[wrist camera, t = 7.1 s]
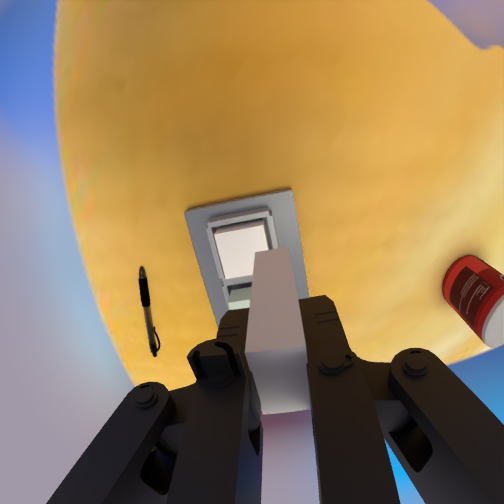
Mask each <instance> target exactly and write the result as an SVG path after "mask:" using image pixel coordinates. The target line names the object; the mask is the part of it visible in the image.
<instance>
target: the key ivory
mask: <svg viewBox="0 0 504 504" xmlns="http://www.w3.org/2000/svg"><path fill="white" fill-rule="evenodd" d="M214 237H215V241H216V244H217V248H218V252H219V256H220V260H221V264H222V267H223V271H224V275H225V279H230V278H236V277H242V276H248V275H253V268H254V258H255V252H259V251H265V250H270V249H269V244H268V239H267V234H266V229H265V224H264V219H257V220H252V221H247V222H242V223H237V224H232V225H226V226H221V227H218V228H217V230H216V232H215V234H214Z"/></svg>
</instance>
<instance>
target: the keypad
mask: <svg viewBox="0 0 504 504" xmlns="http://www.w3.org/2000/svg"><path fill="white" fill-rule="evenodd" d="M184 214H185V218H186V221H187V225H188V229H189V232H190V236H191V240H192V243H193V247H194V250H195V254H196V257H197V261H198V264H199V268H200V271H201V274H202V278H203V281H204V284H205V288H206V291H207V294H208V297H209V301H210V304H211V307H212V310H213V313H214V316H215V319H216V323H217V326H218V328H219V323H220V319H221V318H222V317H223V316H224V314H225V313H226V312H227V311H228V310H230V308H229V305H228V301H229V296H230V292H231V290H235V289H241V288H248V287H252V278H253V275H248V276H242V277H236V278H230V279H225V275H224V271H223V267H222V264H221V260H220V256H219V252H218V248H217V244H216V241H215V237H214V234H215V232H216V230H217V228H218V227H221V226H226V225H232V224H237V223H242V222H247V221H252V220H257V219H264V224H265V229H266V234H267V239H268V244H269V249H270V250H272V249H278V248H284V247H289V253H290V258H291V263H292V268H293V274H294V279H295V285H296V290H297V296H298V299H304V298H309V293H308V286H307V279H306V272H305V265H304V258H303V251H302V245H301V239H300V232H299V226H298V220H297V214H296V209H295V203H294V197H293V192H292V189H291V188H290V189H284V190H279V191H274V192H268V193H263V194H258V195H253V196H248V197H243V198H238V199H233V200H228V201H223V202H218V203H214V204H209V205H205V206H200V207H196V208H191V209H188V210H186V211H185V212H184Z"/></svg>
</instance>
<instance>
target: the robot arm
mask: <svg viewBox="0 0 504 504" xmlns="http://www.w3.org/2000/svg"><path fill="white" fill-rule="evenodd" d="M187 359H188V361H189V364H190V366H191V368H192V370H193V373H194V375H195V377H196V379H197V380H196V382H195V383H194V384H192V385H189V386H186V387H183V388H179V389H175V390H171V391H168V389H167V388H166V387H165V386H164V385H163V384H161V383H158V382H146V383H142V384H140V385H138V386H136V387H134V388H133V389H132V390H131V391H130V392H129V393H128V394H127V396H126V397H125V398H124V400H123V401H122V402H121V404H120V405H119V406H118V408H117V409H116V410H115V411H114V413H113V414H112V416H111V417H110V418H109V419H108V421H107V422H106V423H105V425H104V426H103V427H102V429H101V430H100V432H99V433H98V434H97V435H96V437H95V438H94V439H93V441H92V442H91V444H90V445H89V446H88V448H87V449H86V450H85V451H84V453H83V454H82V455H81V457H80V458H79V460H78V461H77V462H76V464H75V465H74V466H73V468H72V469H71V470H70V472H69V473H68V474H67V476H66V477H65V478H64V480H63V481H62V483H61V484H60V485H59V487H58V488H57V489H56V491H55V492H54V494H53V495H52V497H51V498H50V499H49V500H48V502H47V503H46V504H261V486H262V484H261V483H262V454H263V426H262V423H261V419H260V417H261V409H262V413H263V414H274V413H284V412H292V411H300V410H307V409H311V414H312V425H313V436H314V443H315V453H316V464H317V475H318V487H319V500H320V504H400V500H399V495H398V491H397V486H396V482H395V478H394V474H393V470H392V466H391V462H390V459H389V455H388V451H387V447H386V444H385V440H386V442H387V443H388V445H389V446H390V448H391V449H392V451H393V453H394V454H395V456H396V457H397V459H398V461H399V462H400V464H401V465H402V467H403V469H404V470H405V472H406V473H407V475H408V476H409V478H410V480H411V481H412V483H413V484H414V486H415V488H416V489H417V491H418V492H419V494H420V496H421V497H422V498H423V500H424V502H425V504H504V425H503V424H502V423H501V421H500V420H499V419H498V418H497V417H496V416H495V415H494V414H493V413H492V412H491V411H490V410H489V409H488V407H486V405H485V404H484V403H483V402H482V401H481V400H480V399H479V398H478V397H477V396H476V395H475V394H474V393H473V392H472V391H471V390H470V389H469V388H468V387H467V386H466V385H465V384H464V383H463V382H462V381H461V380H460V379H459V378H458V377H457V376H456V375H455V374H454V373H453V372H452V371H451V370H450V369H449V368H448V367H447V366H446V365H445V364H444V363H443V362H442V361H441V360H440V359H439V358H438V357H437V356H436V355H435V354H433V353H432V352H430V351H429V350H425V349H422V348H409V349H406V350H403V351H401V352H399V353H398V354H397V355H395V357H394V358H393V360H392V362H391V363H384V362H369V361H366V360H362V359H360V358H359V357H357V356H356V354H355V353H354V352H352V351H351V349H350V347H349V344H348V341H347V338H346V335H345V332H344V330H343V327H342V324H341V321H340V319H339V316H338V313H337V310H336V307H335V305H334V302H333V301H332V300H331V299H329V298H328V297H327V296H326V295H322V296H316V297H310V298H304V299H298V296H297V290H296V285H295V279H294V274H293V268H292V263H291V258H290V253H289V247H284V248H278V249H272V250H265V251H259V252H255V258H254V268H253V278H252V287H251V297H250V307H249V308H242V309H234V310H228V311H227V312H226V313H225V314H224V316H223V317H222V318H221V319H220V323H219V328H218V332H217V338H216V339H212V340H207V341H205V342H203V343H200V344H198V345H197V346H196V347H194V348H193V349H192V350H191V351H190V352H189V354H188V356H187ZM384 439H385V440H384Z"/></svg>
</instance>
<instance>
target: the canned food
mask: <svg viewBox="0 0 504 504" xmlns="http://www.w3.org/2000/svg"><path fill="white" fill-rule="evenodd" d="M443 294H444V296H445V299H446V301H447V302H448V304H449V305H450V306H451V307H452V308H453V309H454V310H455V311H456V312H457V313H458V314H459V316H460V317H461V318H462V319H463V320H464V321H465V322H466V323H467V324H468V325H469V327H470V328H471V329H472V330H473V331H474V332H475V333H476V335H477V336H478V337H479V338H480V339H481V340H482V341H483V342H484V343H485V344H486V345H487V346H488V347H497V346H499V345H501V344H503V343H504V275H503V274H501V273H500V272H498V271H497V270H496V269H494V268H493V267H491V266H490V265H488V264H487V263H485V262H484V261H483V260H481V259H479V258H478V257H474V256H465V257H462V258H461V259H459V260H458V261H456V262H455V263H454V264H453V265H452V266H451V268H450V269H449V271H448V272H447V274H446V277H445V279H444V283H443Z"/></svg>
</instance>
